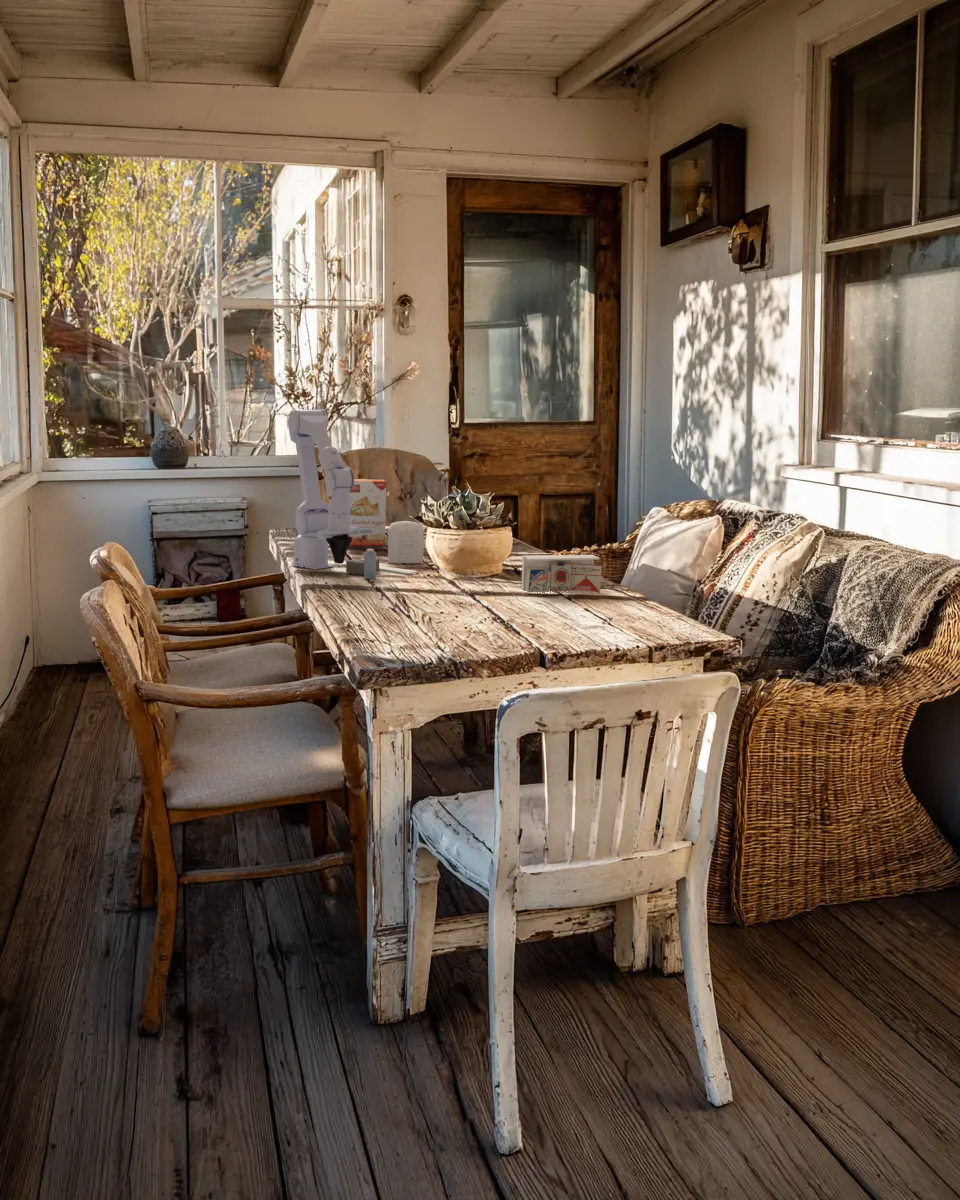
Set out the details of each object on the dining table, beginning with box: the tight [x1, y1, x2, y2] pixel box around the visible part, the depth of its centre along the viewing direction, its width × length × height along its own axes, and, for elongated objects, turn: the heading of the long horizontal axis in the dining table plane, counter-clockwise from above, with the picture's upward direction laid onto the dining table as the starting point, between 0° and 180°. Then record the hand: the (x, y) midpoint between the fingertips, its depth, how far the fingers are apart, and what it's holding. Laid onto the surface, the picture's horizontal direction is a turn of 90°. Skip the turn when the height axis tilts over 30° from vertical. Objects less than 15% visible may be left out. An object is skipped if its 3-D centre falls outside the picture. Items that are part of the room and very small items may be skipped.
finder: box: [345, 557, 380, 575], centre depth 325 cm, size 5×8×4 cm, turn 143°
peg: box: [363, 548, 377, 580], centre depth 314 cm, size 3×3×8 cm
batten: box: [379, 564, 420, 575], centre depth 327 cm, size 16×4×1 cm, turn 53°
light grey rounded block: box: [387, 520, 425, 565], centre depth 340 cm, size 10×4×12 cm, turn 98°
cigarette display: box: [521, 554, 602, 594], centre depth 300 cm, size 20×6×9 cm, turn 103°
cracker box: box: [348, 478, 387, 547], centre depth 374 cm, size 14×6×21 cm, turn 102°
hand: (338, 563), depth 317 cm, fingers closed
